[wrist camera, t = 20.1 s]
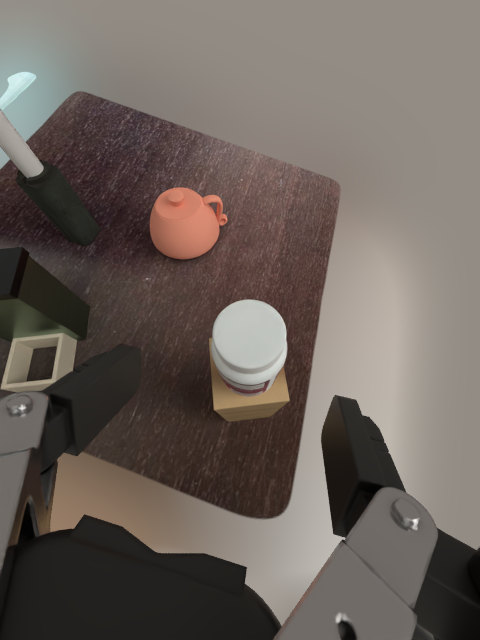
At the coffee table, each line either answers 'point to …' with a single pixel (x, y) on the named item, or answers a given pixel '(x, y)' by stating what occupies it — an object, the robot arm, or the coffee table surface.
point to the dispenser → (36, 300)
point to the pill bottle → (249, 346)
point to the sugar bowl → (185, 223)
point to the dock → (22, 359)
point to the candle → (48, 188)
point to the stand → (247, 398)
